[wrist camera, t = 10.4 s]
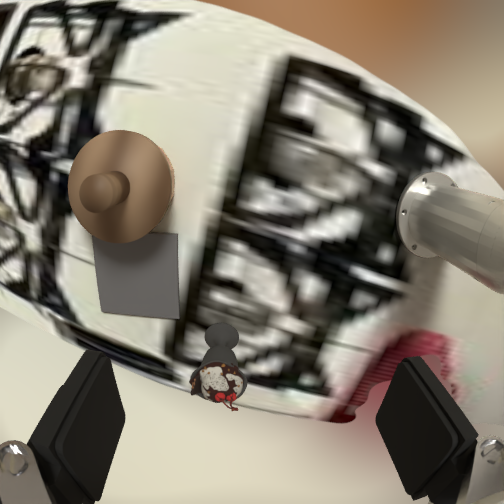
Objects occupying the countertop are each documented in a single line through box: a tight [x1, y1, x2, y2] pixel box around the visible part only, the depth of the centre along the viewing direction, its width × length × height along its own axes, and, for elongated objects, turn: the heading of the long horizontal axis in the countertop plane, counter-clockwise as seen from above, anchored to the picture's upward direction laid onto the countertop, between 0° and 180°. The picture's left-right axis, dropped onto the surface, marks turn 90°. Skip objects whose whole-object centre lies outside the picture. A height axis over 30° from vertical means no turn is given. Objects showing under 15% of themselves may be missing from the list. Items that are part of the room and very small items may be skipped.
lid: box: [68, 130, 172, 243], centre depth 28 cm, size 12×12×6 cm
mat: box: [92, 233, 180, 319], centre depth 39 cm, size 12×12×1 cm
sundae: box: [189, 323, 247, 411], centre depth 36 cm, size 7×7×15 cm
